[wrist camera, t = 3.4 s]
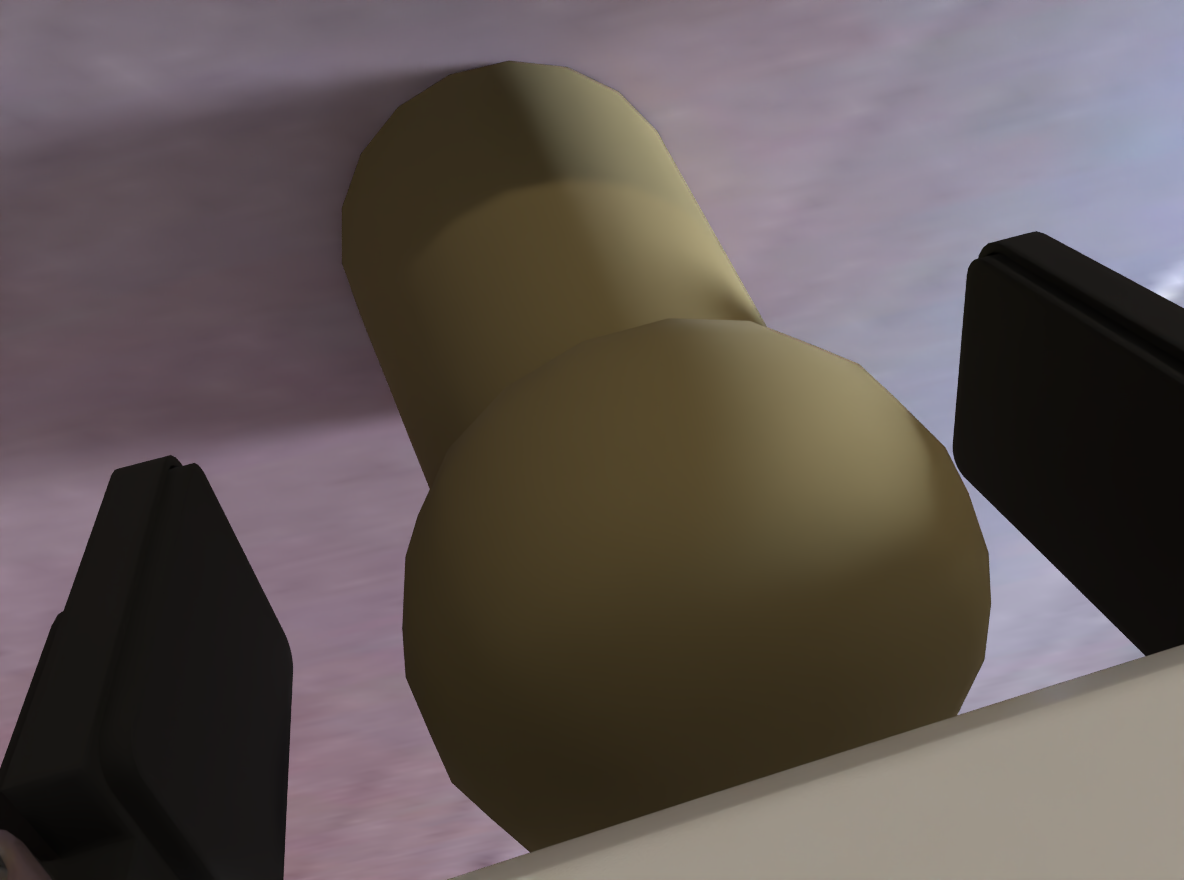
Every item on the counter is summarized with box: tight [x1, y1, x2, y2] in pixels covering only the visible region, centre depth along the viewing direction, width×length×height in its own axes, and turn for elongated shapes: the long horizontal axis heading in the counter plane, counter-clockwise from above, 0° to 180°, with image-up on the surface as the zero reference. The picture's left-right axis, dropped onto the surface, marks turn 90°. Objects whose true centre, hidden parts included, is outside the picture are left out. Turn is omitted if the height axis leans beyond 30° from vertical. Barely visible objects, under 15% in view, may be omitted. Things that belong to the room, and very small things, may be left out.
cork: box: [342, 61, 991, 853], centre depth 11 cm, size 6×6×11 cm
